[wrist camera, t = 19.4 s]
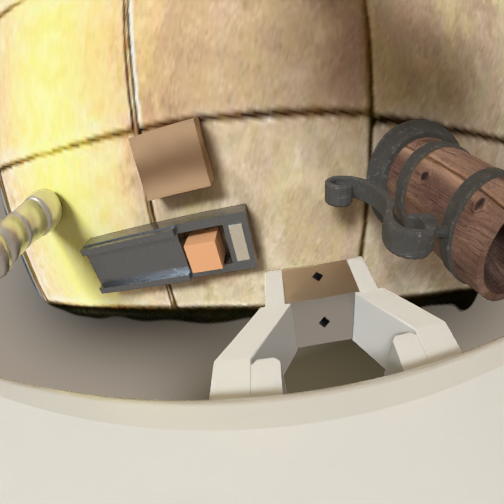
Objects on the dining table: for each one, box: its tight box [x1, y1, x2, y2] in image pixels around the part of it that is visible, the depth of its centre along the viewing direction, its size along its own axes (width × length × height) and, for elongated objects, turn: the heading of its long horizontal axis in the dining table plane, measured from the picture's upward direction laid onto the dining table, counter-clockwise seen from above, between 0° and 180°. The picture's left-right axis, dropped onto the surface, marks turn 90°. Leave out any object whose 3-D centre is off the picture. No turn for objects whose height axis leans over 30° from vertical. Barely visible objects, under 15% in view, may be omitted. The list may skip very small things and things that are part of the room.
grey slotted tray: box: [81, 204, 258, 293], centre depth 39 cm, size 8×24×4 cm, turn 102°
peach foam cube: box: [184, 227, 226, 273], centre depth 38 cm, size 4×4×4 cm
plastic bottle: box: [0, 189, 62, 278], centre depth 28 cm, size 6×7×20 cm
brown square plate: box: [129, 117, 214, 201], centre depth 33 cm, size 8×8×3 cm
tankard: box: [325, 119, 504, 301], centre depth 26 cm, size 24×17×20 cm
